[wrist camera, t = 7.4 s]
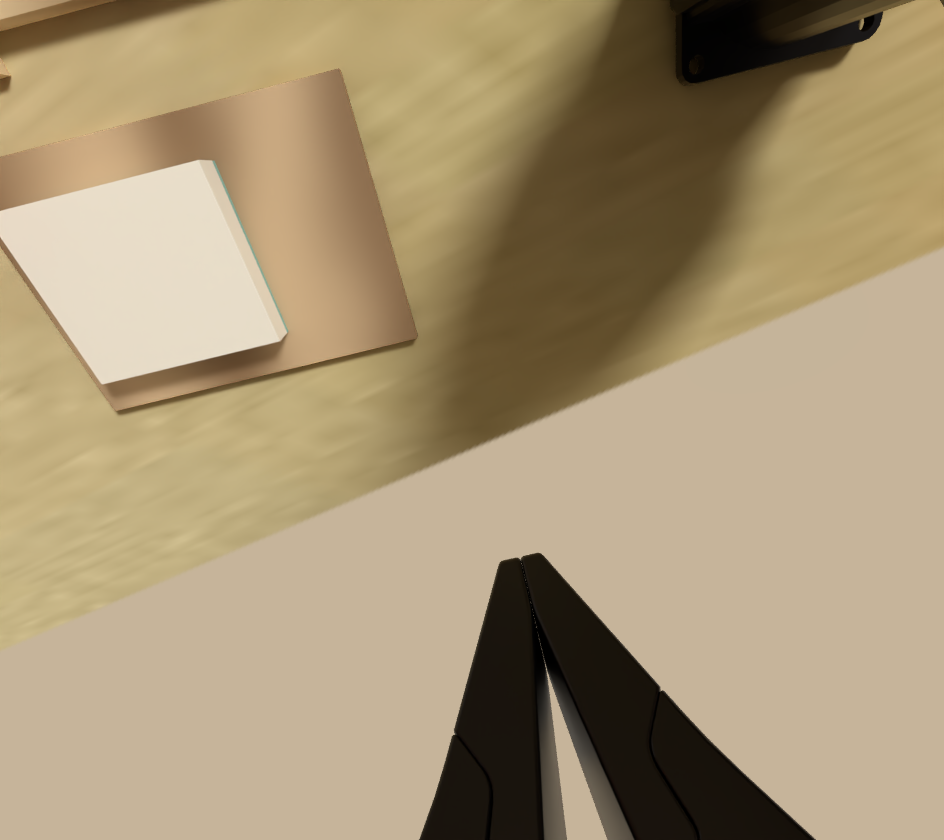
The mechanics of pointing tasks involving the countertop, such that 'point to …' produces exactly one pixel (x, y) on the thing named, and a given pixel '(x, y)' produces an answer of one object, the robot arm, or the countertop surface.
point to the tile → (146, 270)
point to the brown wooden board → (254, 221)
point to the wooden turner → (36, 14)
